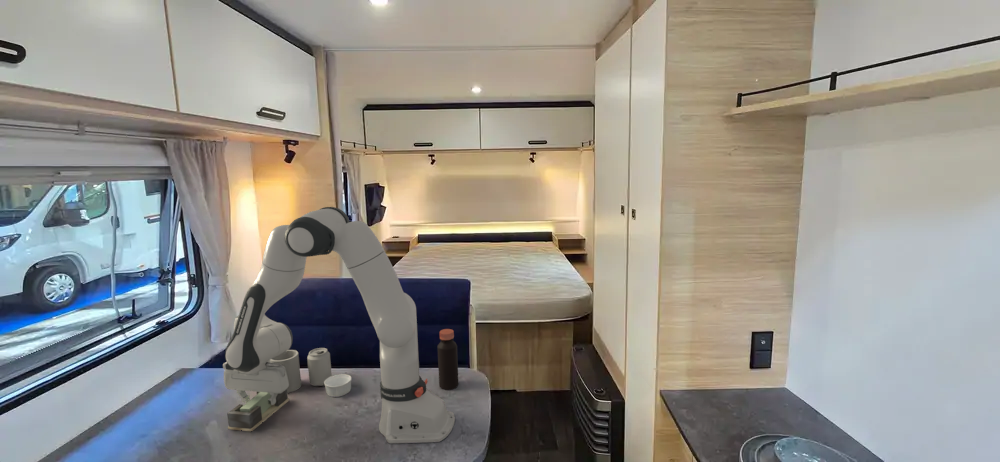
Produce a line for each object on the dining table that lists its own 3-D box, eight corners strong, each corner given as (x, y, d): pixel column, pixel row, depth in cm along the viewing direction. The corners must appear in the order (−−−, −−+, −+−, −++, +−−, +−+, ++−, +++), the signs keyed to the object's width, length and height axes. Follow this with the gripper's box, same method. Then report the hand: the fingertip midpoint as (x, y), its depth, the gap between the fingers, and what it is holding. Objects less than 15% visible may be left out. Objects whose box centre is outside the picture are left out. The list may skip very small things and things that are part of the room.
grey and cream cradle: (289, 400, 144) (287, 386, 144) (251, 431, 128) (249, 415, 127) (267, 398, 146) (266, 384, 145) (228, 429, 129) (226, 413, 129)
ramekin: (349, 382, 156) (348, 371, 155) (355, 393, 148) (354, 381, 148) (323, 389, 151) (322, 378, 151) (327, 401, 144) (326, 389, 143)
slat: (277, 400, 143) (275, 386, 142) (251, 424, 130) (249, 408, 129) (268, 400, 143) (266, 386, 142) (241, 423, 130) (239, 408, 130)
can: (324, 388, 152) (321, 356, 150) (305, 386, 154) (302, 354, 152) (336, 377, 159) (333, 347, 157) (318, 376, 161) (315, 345, 159)
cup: (267, 389, 152) (264, 357, 150) (292, 378, 160) (289, 347, 158) (281, 396, 147) (277, 363, 145) (306, 385, 154) (303, 353, 153)
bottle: (454, 391, 148) (451, 336, 145) (436, 389, 150) (433, 334, 147) (461, 381, 154) (459, 328, 151) (443, 379, 156) (441, 327, 153)
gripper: (290, 359, 135) (295, 399, 137) (233, 355, 139) (238, 395, 141) (277, 368, 129) (281, 410, 131) (217, 364, 133) (223, 405, 135)
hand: (259, 402), depth 136 cm, fingers open, 8 cm apart
